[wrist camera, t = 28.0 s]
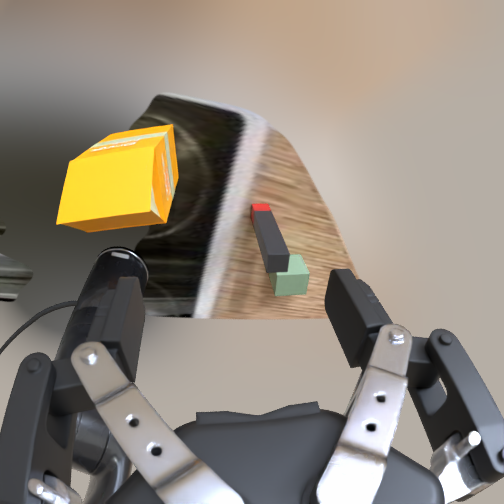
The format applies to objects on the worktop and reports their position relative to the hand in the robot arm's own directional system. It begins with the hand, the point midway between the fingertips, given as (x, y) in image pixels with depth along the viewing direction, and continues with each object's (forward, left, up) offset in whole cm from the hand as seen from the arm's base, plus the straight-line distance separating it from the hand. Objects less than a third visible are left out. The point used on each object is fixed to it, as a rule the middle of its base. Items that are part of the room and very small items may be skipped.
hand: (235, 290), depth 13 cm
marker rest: (-8, -22, -32) cm, 40 cm away
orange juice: (-8, +6, -32) cm, 34 cm away
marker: (-4, -12, -25) cm, 28 cm away
